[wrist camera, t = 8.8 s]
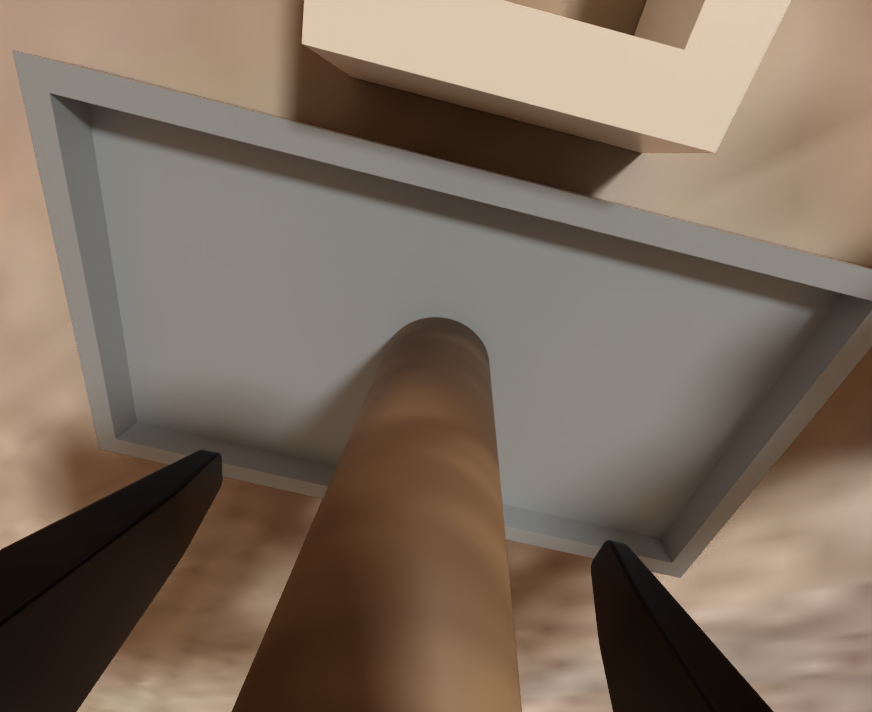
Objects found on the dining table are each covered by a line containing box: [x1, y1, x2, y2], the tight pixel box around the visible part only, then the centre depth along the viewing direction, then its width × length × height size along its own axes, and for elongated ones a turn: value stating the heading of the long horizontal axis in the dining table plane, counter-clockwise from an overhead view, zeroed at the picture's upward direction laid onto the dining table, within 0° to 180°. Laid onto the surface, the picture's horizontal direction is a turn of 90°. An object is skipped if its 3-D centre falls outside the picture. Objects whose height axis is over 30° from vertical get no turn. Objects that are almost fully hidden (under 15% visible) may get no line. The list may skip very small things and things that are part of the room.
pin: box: [232, 317, 522, 712], centre depth 10 cm, size 4×4×12 cm
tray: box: [12, 50, 872, 578], centre depth 15 cm, size 26×14×2 cm, turn 77°
